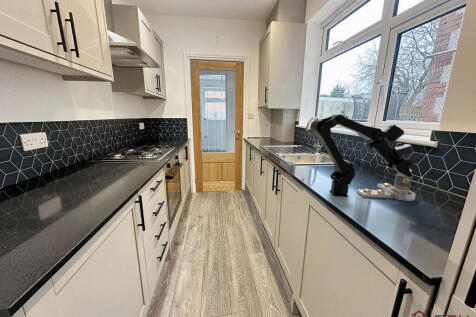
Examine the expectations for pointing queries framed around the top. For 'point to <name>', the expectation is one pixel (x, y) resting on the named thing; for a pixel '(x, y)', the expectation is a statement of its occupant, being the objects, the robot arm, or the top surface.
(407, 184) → the pill bottle
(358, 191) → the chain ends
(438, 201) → the top surface
